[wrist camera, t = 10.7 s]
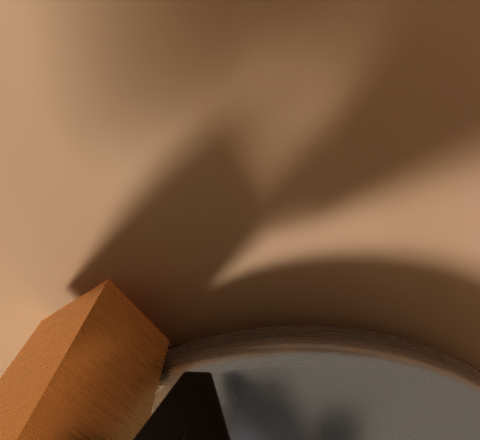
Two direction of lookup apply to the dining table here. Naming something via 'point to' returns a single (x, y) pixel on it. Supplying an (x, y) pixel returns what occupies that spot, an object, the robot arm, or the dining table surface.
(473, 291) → the dining table surface
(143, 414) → the platter
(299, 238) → the dining table surface
